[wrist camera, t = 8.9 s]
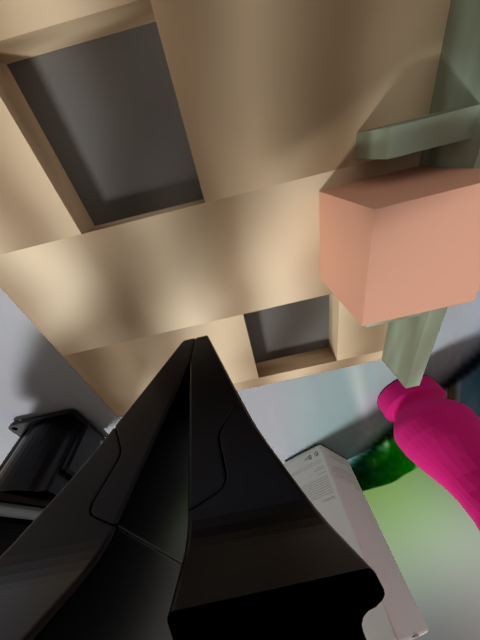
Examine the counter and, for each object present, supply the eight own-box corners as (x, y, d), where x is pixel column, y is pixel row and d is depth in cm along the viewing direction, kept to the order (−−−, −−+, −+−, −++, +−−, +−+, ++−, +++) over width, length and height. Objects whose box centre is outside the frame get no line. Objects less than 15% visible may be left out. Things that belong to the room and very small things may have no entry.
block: (320, 279, 15) (362, 326, 11) (318, 191, 12) (374, 209, 8) (400, 260, 15) (474, 300, 11) (418, 165, 12) (528, 171, 8)
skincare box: (281, 461, 33) (326, 657, 20) (322, 440, 30) (401, 645, 18) (314, 476, 37) (368, 648, 24) (351, 459, 34) (434, 638, 22)
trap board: (124, 397, 22) (104, 452, 18) (-140, 70, 10) (-400, 6, 6) (379, 341, 21) (419, 385, 17) (458, -106, 9) (680, -343, 5)
